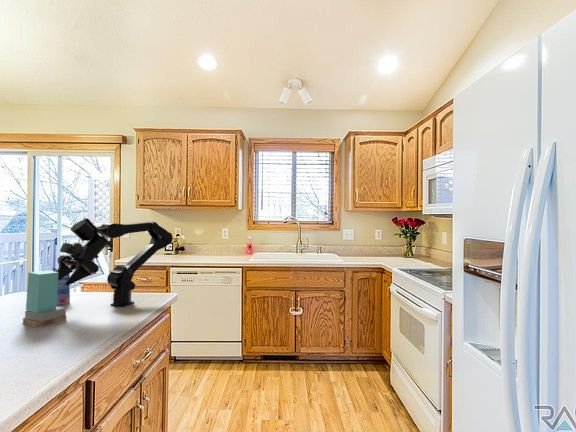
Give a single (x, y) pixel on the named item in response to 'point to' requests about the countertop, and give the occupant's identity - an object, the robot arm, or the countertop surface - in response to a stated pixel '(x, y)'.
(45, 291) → the column
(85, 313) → the countertop surface
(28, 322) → the tower base
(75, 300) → the countertop surface
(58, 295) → the ink cartridge box
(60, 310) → the tower top
